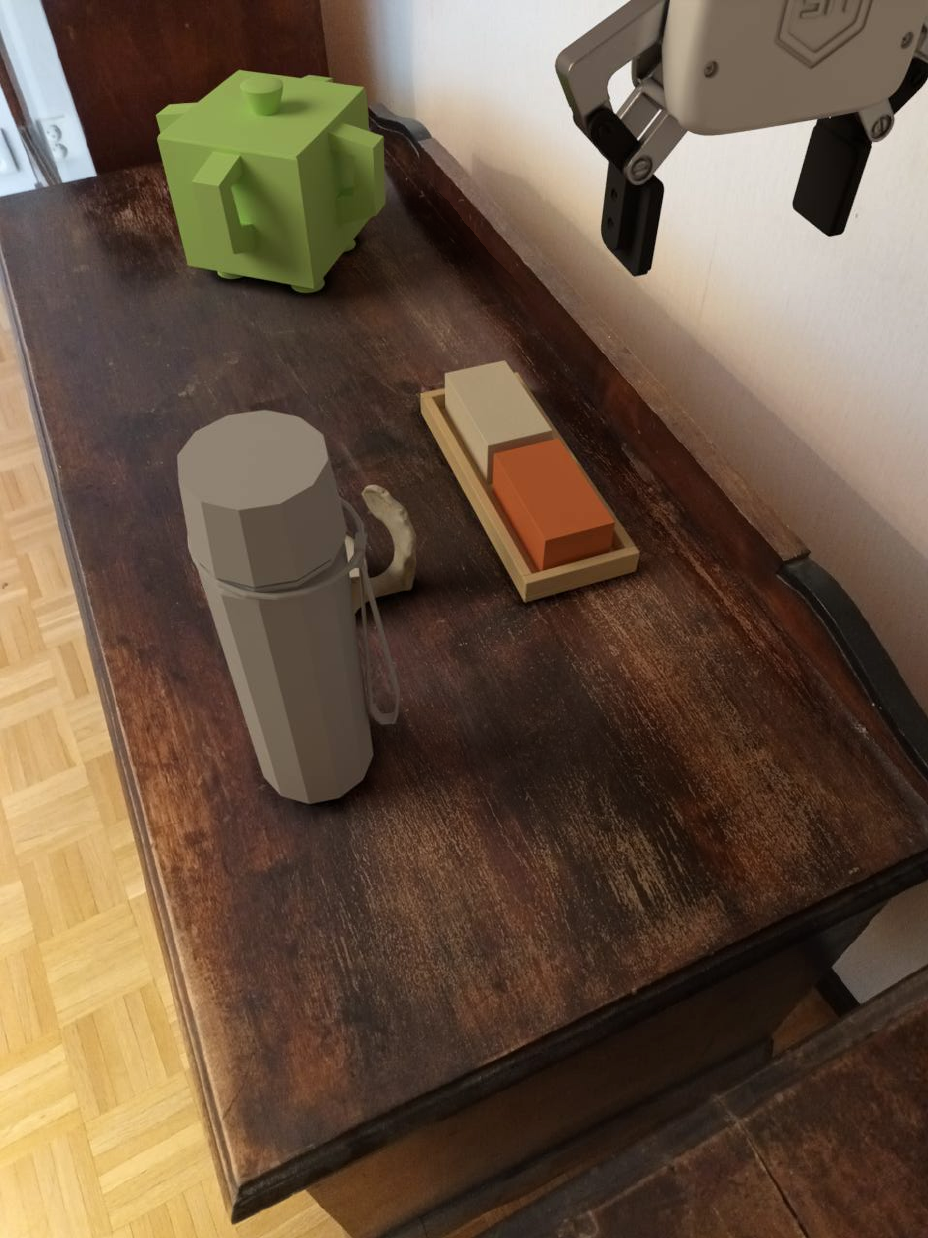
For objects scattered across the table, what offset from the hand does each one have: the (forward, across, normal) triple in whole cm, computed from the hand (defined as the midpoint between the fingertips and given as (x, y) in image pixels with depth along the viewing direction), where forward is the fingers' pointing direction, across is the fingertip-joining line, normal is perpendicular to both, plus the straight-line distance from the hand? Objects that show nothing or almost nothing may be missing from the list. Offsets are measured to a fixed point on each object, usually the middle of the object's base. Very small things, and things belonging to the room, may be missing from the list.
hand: (723, 240), depth 41 cm
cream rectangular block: (+29, -1, +24) cm, 38 cm away
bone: (+30, -16, +12) cm, 36 cm away
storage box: (+30, -10, +60) cm, 68 cm away
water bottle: (+30, -22, -1) cm, 37 cm away
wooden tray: (+30, -1, +18) cm, 35 cm away
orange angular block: (+30, -1, +13) cm, 32 cm away
